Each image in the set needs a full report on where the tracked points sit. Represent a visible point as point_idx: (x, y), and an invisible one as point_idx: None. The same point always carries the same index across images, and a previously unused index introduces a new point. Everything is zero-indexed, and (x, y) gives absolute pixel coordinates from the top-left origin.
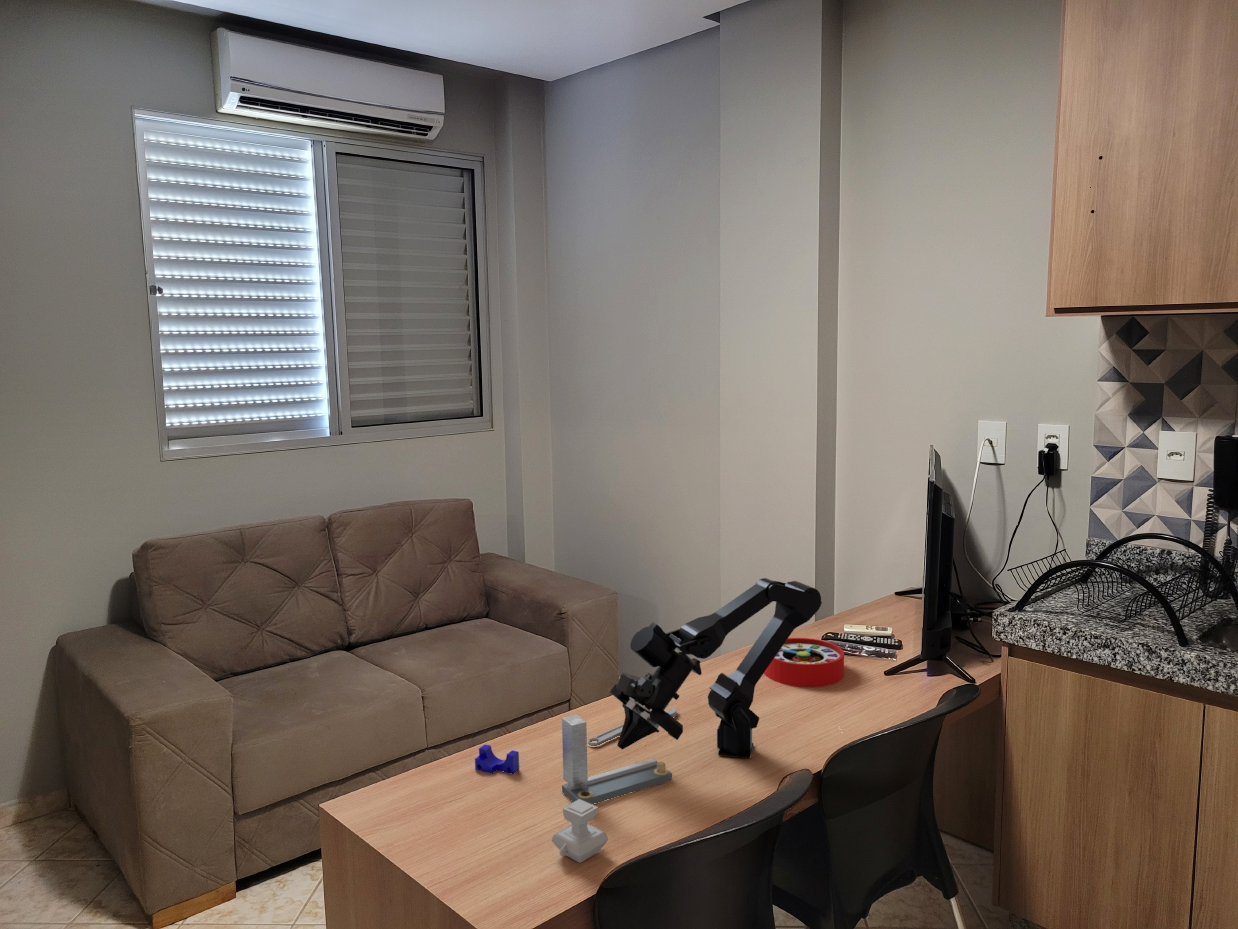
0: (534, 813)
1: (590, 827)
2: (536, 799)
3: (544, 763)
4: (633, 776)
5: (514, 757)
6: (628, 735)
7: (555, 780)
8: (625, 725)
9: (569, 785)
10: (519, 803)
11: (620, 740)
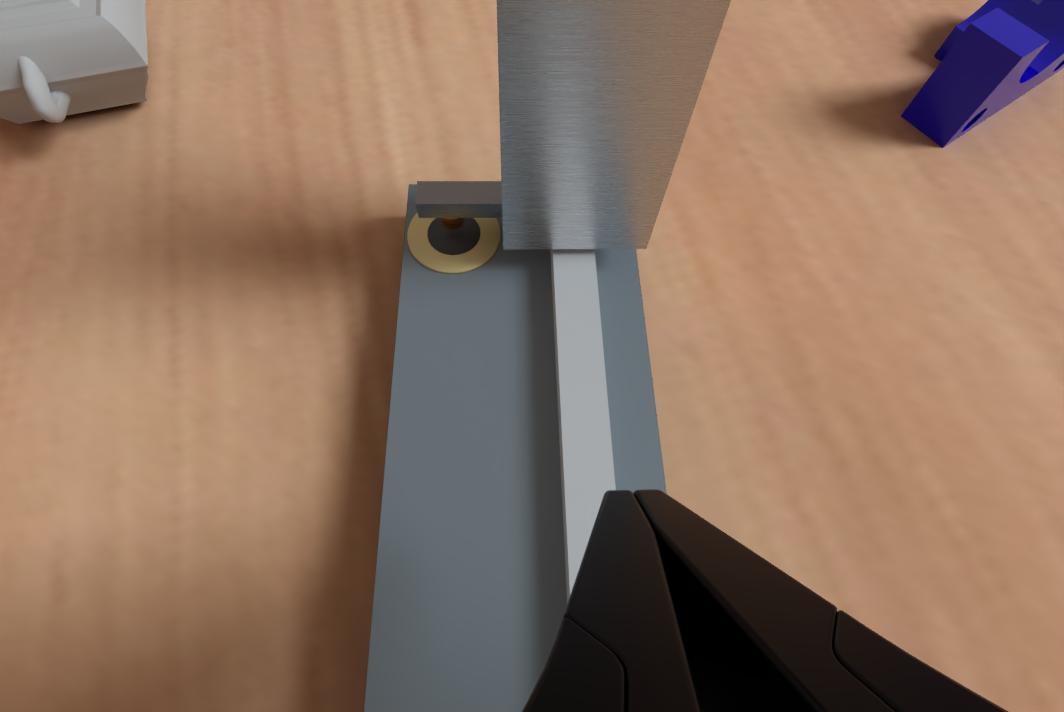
0: None
1: (4, 25)
2: None
3: (993, 268)
4: (496, 638)
5: (972, 46)
6: (572, 596)
7: (767, 240)
8: (832, 656)
9: None
10: None
11: (659, 517)
